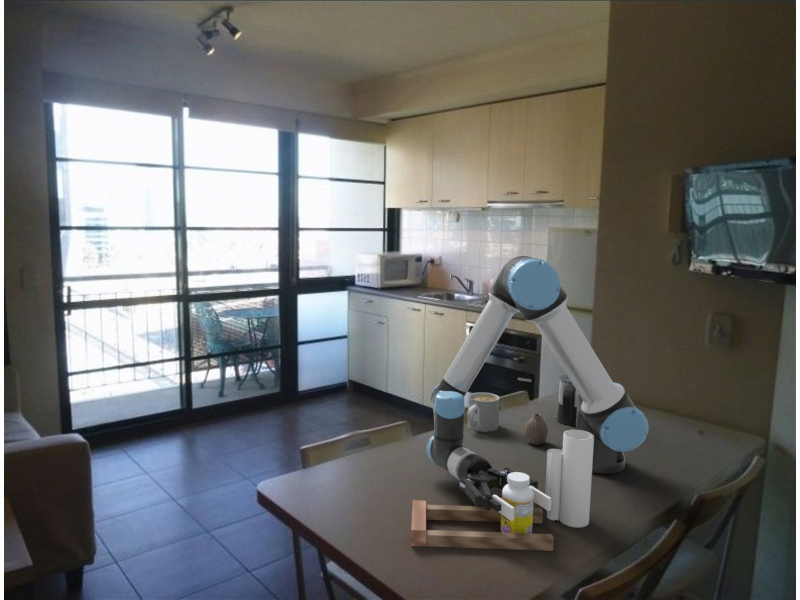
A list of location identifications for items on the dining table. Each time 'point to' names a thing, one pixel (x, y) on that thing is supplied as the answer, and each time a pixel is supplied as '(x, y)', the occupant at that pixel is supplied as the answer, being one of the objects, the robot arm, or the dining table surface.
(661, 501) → the dining table surface
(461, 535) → the channel
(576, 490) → the white joined tall cylinders
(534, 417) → the vase
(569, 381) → the milk frother
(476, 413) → the coffee mug
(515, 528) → the supplement bottle
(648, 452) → the dining table surface
